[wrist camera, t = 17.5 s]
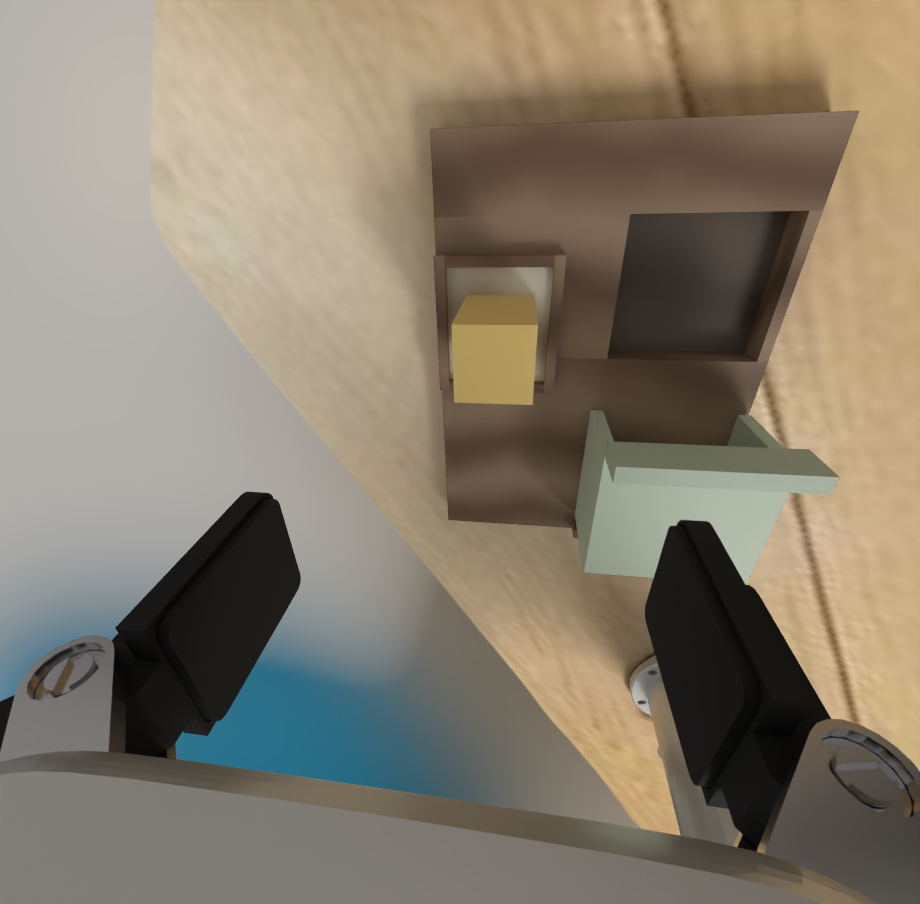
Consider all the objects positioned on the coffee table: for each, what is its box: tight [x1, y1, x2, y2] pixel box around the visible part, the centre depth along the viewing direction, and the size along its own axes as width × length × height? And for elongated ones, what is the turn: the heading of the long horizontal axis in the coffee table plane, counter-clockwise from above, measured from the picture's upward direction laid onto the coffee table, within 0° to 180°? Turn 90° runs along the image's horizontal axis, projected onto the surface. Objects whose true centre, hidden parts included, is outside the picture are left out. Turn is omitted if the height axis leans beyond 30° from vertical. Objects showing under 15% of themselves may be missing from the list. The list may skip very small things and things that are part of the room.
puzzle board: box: [430, 111, 859, 538], centre depth 28 cm, size 26×20×3 cm
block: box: [452, 294, 538, 405], centre depth 24 cm, size 4×4×7 cm
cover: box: [575, 410, 840, 585], centre depth 27 cm, size 10×10×8 cm
